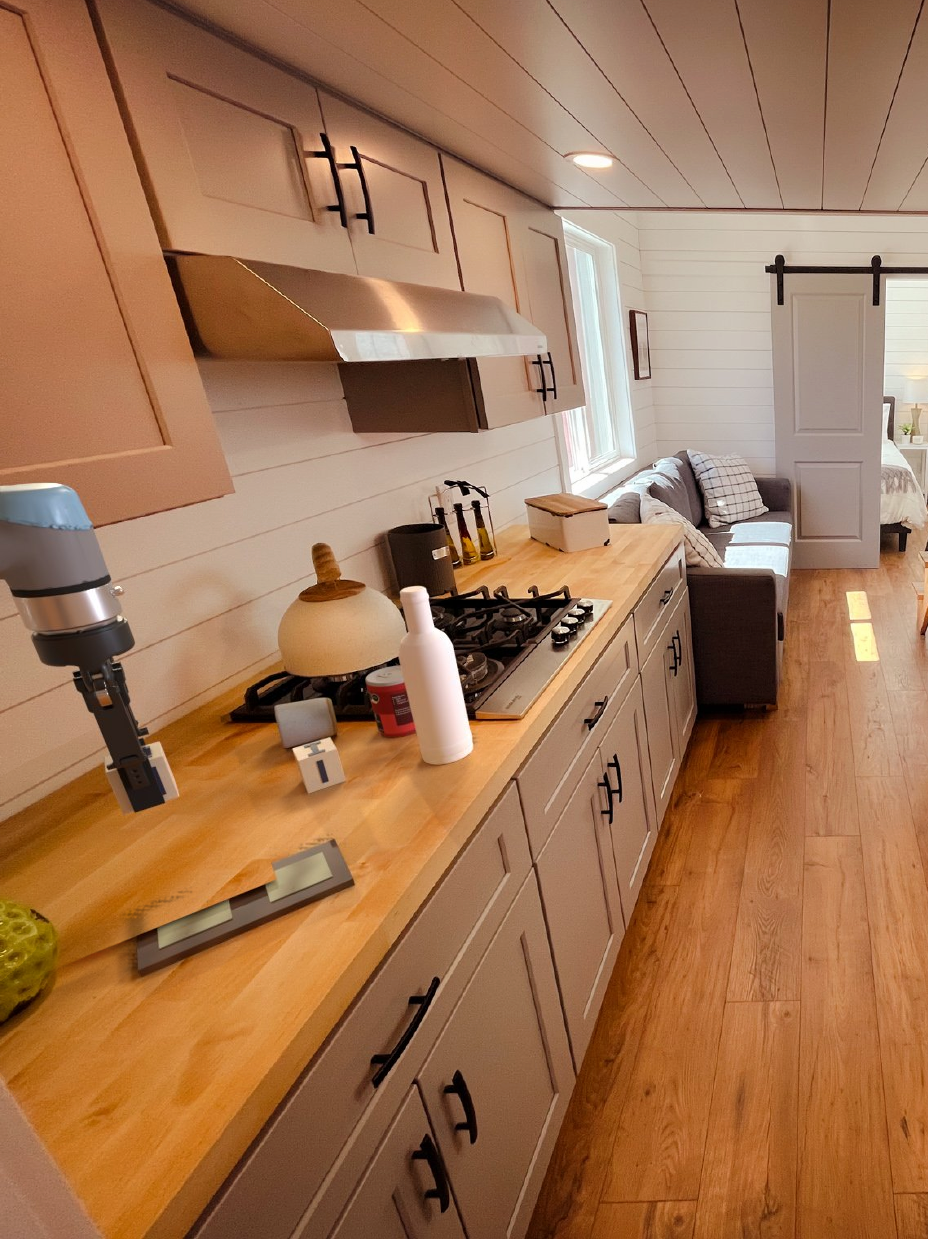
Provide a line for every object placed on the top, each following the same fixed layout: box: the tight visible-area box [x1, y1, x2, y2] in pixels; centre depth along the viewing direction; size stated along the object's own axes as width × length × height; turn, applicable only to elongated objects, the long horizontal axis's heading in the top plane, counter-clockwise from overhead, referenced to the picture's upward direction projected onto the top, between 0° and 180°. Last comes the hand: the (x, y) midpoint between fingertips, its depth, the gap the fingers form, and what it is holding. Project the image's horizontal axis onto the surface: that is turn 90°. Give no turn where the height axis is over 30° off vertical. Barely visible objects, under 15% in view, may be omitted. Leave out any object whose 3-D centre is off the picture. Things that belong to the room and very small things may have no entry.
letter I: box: [292, 736, 347, 795], centre depth 108 cm, size 5×5×6 cm
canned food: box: [365, 665, 416, 738], centre depth 123 cm, size 8×8×11 cm
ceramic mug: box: [274, 697, 339, 749], centre depth 120 cm, size 11×8×8 cm
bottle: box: [397, 585, 474, 766], centre depth 112 cm, size 8×8×30 cm
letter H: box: [103, 741, 180, 816], centre depth 83 cm, size 5×5×6 cm
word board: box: [135, 838, 356, 978], centre depth 84 cm, size 20×11×1 cm, turn 135°
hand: (147, 796), depth 84 cm, fingers closed on letter H, 5 cm apart
